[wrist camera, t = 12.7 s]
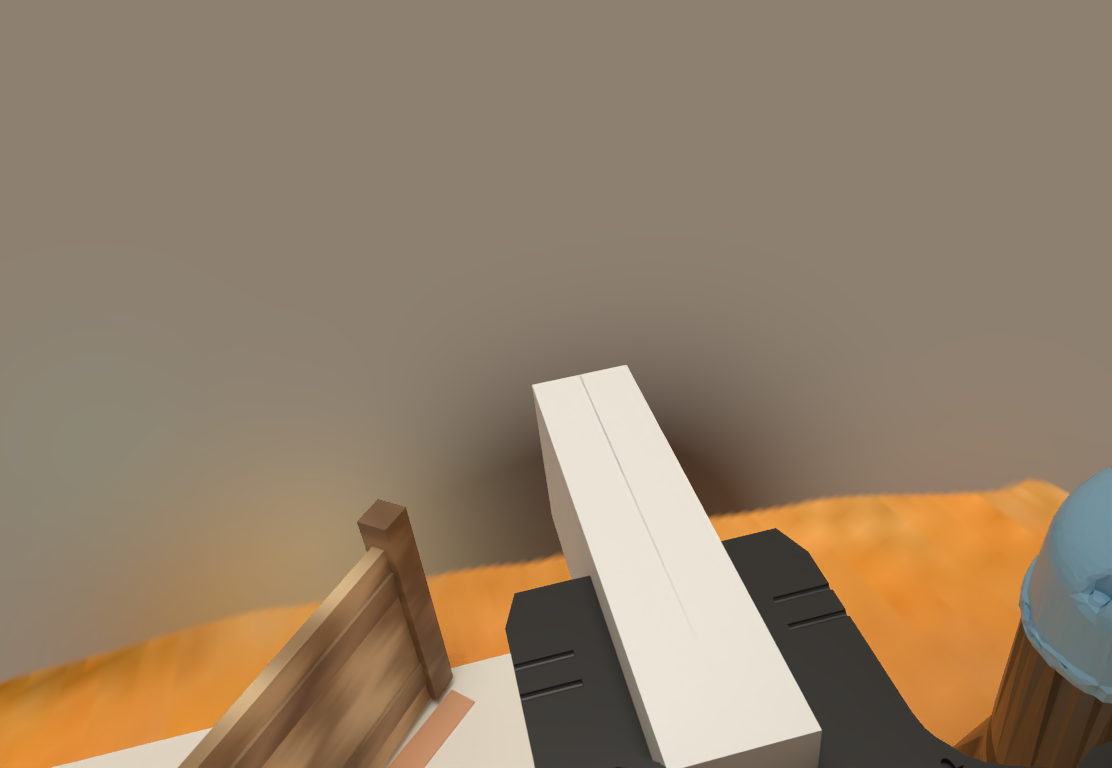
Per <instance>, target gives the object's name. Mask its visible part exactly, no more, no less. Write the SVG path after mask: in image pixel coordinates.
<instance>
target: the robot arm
mask: <svg viewBox="0 0 1112 768" xmlns="http://www.w3.org/2000/svg"><path fill="white" fill-rule="evenodd" d="M532 387H533V394H534V401H535V407H536V414H537V420H538V427H539V433H540V439H541V446H542V453H543V459H544V466H545V472H546V478H547V486H548V492H549V499H550V505H551V512H552V517H553V520H554V523H555V527H556V529H557V533H558V536H559V539H560V542H561V546H562V549H563V552H564V555H565V558H566V562H567V565H568V568H569V571H570V574H571V578H572V580H569V581H564V582H560V583H556V584H552V585H548V586H544V587H540V588H535V589H531V590H527V591H523V592H519V593H515V594H514V598H513V602H512V605H511V609H510V613H509V617H508V621H507V624H506V628H505V629H506V634H507V639H508V643H509V648H510V653H511V658H512V662H513V667H514V672H515V676H516V681H517V686H518V691H519V695H520V700H521V705H522V709H523V714H524V719H525V723H526V728H527V733H528V738H529V742H530V747H531V752H532V756H533V761H534V766H535V768H1112V467H1109V468H1107V469H1104V470H1103V471H1101V472H1099V473H1097V474H1095V475H1094V476H1092V477H1091V478H1089V479H1088V480H1086V481H1085V482H1084V483H1082V484H1081V485H1080V486H1079V487H1077V488H1076V489H1075V490H1074V491H1073V492H1072V493H1071V494H1070V495H1069V496H1068V497H1067V498H1066V500H1065V501H1064V502H1063V503H1062V505H1061V506H1060V507H1059V509H1058V511H1057V513H1056V514H1055V516H1054V517H1053V519H1052V522H1051V524H1050V526H1049V529H1048V532H1047V534H1046V537H1045V540H1044V542H1043V545H1042V548H1041V550H1040V553H1039V555H1038V556H1037V557H1036V558H1035V559H1034V560H1033V562H1032V563H1031V565H1030V567H1029V568H1028V570H1027V572H1026V575H1025V577H1024V580H1023V584H1022V588H1021V594H1020V601H1019V607H1020V609H1021V619H1020V622H1019V625H1018V629H1017V632H1016V635H1015V638H1014V642H1013V645H1012V648H1011V651H1010V655H1009V658H1008V661H1007V664H1006V668H1005V671H1004V674H1003V677H1002V681H1001V684H1000V687H999V690H998V694H997V697H996V700H995V704H994V708H993V712H992V715H991V716H990V717H988V718H987V719H986V720H985V721H984V722H982V723H981V724H980V725H979V726H978V727H976V728H975V729H974V730H973V731H972V732H970V733H969V734H968V735H967V736H966V737H964V738H963V739H962V740H961V741H960V742H958V743H957V744H956V745H955V746H954V747H951V746H950V745H948V744H946V743H945V742H943V741H941V740H940V739H938V738H936V737H935V736H934V735H933V734H931V733H930V732H929V731H928V730H927V729H925V728H924V727H923V725H922V724H921V723H920V722H919V720H918V719H917V718H916V717H915V715H914V714H913V713H912V712H911V710H910V709H909V707H908V705H907V704H906V702H905V701H904V699H903V698H902V696H901V695H900V693H899V692H898V690H897V688H896V687H895V685H894V684H893V682H892V681H891V679H890V678H889V676H888V675H887V673H886V671H885V670H884V668H883V667H882V665H881V664H880V662H879V661H878V659H877V658H876V656H875V654H874V653H873V651H872V650H871V648H870V647H869V645H868V644H867V642H866V640H865V639H864V637H863V636H862V634H861V633H860V631H859V630H858V628H857V627H856V625H855V623H854V622H853V620H852V619H851V617H850V616H847V614H846V611H845V608H844V606H843V605H842V603H841V602H840V600H839V599H838V597H837V596H836V594H835V593H834V591H833V590H830V588H829V583H828V582H827V580H826V579H825V577H824V576H823V574H822V572H821V571H820V569H819V568H818V566H817V565H816V563H815V562H814V560H813V559H812V557H811V555H810V554H809V552H808V551H806V550H805V549H804V548H802V547H801V546H799V545H798V544H797V543H795V542H794V541H793V540H791V539H790V538H788V537H787V536H786V535H784V534H783V533H782V532H780V531H779V530H778V529H776V528H775V529H771V530H766V531H762V532H758V533H754V534H750V535H746V536H741V537H737V538H733V539H729V540H725V541H720V539H719V537H718V535H717V533H716V531H715V530H714V528H713V526H712V524H711V522H710V520H709V518H708V516H707V515H706V513H705V511H704V509H703V507H702V505H701V503H700V502H699V500H698V498H697V496H696V494H695V492H694V490H693V488H692V487H691V485H690V483H689V481H688V479H687V477H686V475H685V474H684V472H683V470H682V468H681V466H680V464H679V462H678V461H677V459H676V457H675V455H674V453H673V451H672V449H671V447H670V445H669V444H668V442H667V440H666V438H665V436H664V434H663V433H662V431H661V429H660V427H659V425H658V423H657V421H656V419H655V418H654V416H653V414H652V412H651V410H650V408H649V406H648V404H647V403H646V401H645V399H644V397H643V395H642V393H641V391H640V389H639V388H638V386H637V384H636V382H635V380H634V378H633V376H632V375H631V373H630V371H629V369H628V367H627V365H624V366H619V367H614V368H610V369H605V370H600V371H596V372H591V373H586V374H582V375H578V376H572V377H568V378H563V379H558V380H554V381H549V382H544V383H540V384H535V385H532Z"/></svg>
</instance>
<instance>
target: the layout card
mask: <svg viewBox="0 0 1112 768" xmlns="http://www.w3.org/2000/svg"><path fill="white" fill-rule="evenodd" d="M451 670H452V674H453V678H452V680H451V681H450V683H449V684H448V686H447V687H446V689H445V690H444V692H443V693H442V695H441V696H440V698H439V699H438V701H436V700H434V699H431V698H430V699H429V701H428V702H427V704H426V705H425V707H424V708H423V710H422V711H421V712H420V714H419V715H418V717H417V718H416V720H415V721H414V723H413V724H412V726H411V727H410V729H409V730H408V731H407V733H406V734H405V736H404V737H403V739H402V740H401V742H400V743H399V745H398V746H397V748H396V749H395V750H394V752H393V753H392V755H391V756H390V758H389V759H388V761H387V762H386V764H385V765H384V767H383V768H535V766H534V761H533V756H532V752H531V747H530V742H529V738H528V733H527V728H526V723H525V719H524V714H523V709H522V705H521V700H520V695H519V691H518V686H517V681H516V676H515V672H514V667H513V662H512V658H511V653H510V654H506V655H502V656H498V657H494V658H490V659H486V660H482V661H478V662H474V663H470V664H466V665H462V666H458V667H454V668H451ZM211 729H212V728H209V729H205V730H201V731H197V732H193V733H189V734H185V735H181V736H177V737H173V738H169V739H165V740H161V741H157V742H153V743H149V744H145V745H141V746H137V747H133V748H129V749H125V750H121V751H117V752H113V753H109V754H105V755H101V756H97V757H93V758H89V759H85V760H81V761H77V762H73V763H69V764H65V765H61V766H57V767H53V768H178V767H179V766H180V764H181V763H182V762H183V761H184V760H185V759H186V758H187V756H188V755H189V754H190V753H191V752H192V751H193V750H194V748H195V747H196V746H197V745H198V744H199V743H200V742H201V741H202V739H203V738H204V737H205V736H206V735H207V734H208V733H209V731H210V730H211Z"/></svg>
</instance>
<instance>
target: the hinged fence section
mask: <svg viewBox="0 0 1112 768" xmlns="http://www.w3.org/2000/svg"><path fill="white" fill-rule="evenodd" d="M357 523H358V526H359V529H360V532H361V535H362V538H363V541H364V544H365V547H366V550H367V553H366V554H365V555H364V556H363V558H362V559H361V560H360V561H359V562H358V563H357V564H356V565H355V566H354V568H353V569H352V570H351V571H350V572H349V573H348V575H347V576H346V577H345V578H344V579H343V580H342V581H341V582H340V584H339V585H338V586H337V587H336V588H335V589H334V590H333V592H332V593H331V594H330V595H329V596H328V597H327V598H326V599H325V601H324V602H323V603H322V604H321V605H320V606H319V607H318V609H317V610H316V611H315V612H314V613H313V614H312V615H311V617H310V618H309V619H308V620H307V621H306V622H305V623H304V624H303V626H302V627H301V628H300V629H299V630H298V631H297V632H296V634H295V635H294V636H293V637H292V638H291V639H290V640H289V642H288V643H287V644H286V645H285V646H284V647H283V648H282V650H281V651H280V652H279V653H278V654H277V655H276V656H275V657H274V659H273V660H272V661H271V662H270V663H269V664H268V665H267V667H266V668H265V669H264V670H263V671H262V672H261V673H260V675H259V676H258V677H257V678H256V679H255V680H254V681H253V683H252V684H251V685H250V686H249V687H248V688H247V689H246V690H245V692H244V693H243V694H242V695H241V696H240V697H239V698H238V700H237V701H236V702H235V703H234V704H233V705H232V706H231V708H230V709H229V710H228V711H227V712H226V713H225V714H224V716H223V717H222V718H221V719H220V720H219V721H218V722H217V723H216V725H215V726H214V727H213V728H212V729H211V730H210V731H209V733H208V734H207V735H206V736H205V737H204V738H203V739H202V741H201V742H200V743H199V744H198V745H197V746H196V747H195V748H194V750H193V751H192V752H191V753H190V754H189V755H188V756H187V758H186V759H185V760H184V761H183V762H182V763H181V764H180V766H179V767H178V768H383V767H384V765H385V764H386V762H387V761H388V759H389V758H390V756H391V755H392V753H393V752H394V750H395V749H396V748H397V746H398V745H399V743H400V742H401V740H402V739H403V737H404V736H405V734H406V733H407V731H408V730H409V729H410V727H411V726H412V724H413V723H414V721H415V720H416V718H417V717H418V715H419V714H420V712H421V711H422V710H423V708H424V707H425V705H426V704H427V702H428V701H429V699H430V698H431V699H434V700H436V701H438V699H439V698H440V696H441V695H442V693H443V692H444V690H445V689H446V687H447V686H448V684H449V683H450V681H451V680H452V678H453V674H452V670H451V667H450V663H449V660H448V656H447V653H446V649H445V646H444V642H443V638H442V635H441V631H440V628H439V624H438V621H437V617H436V613H435V610H434V606H433V603H432V599H431V596H430V592H429V588H428V585H427V581H426V578H425V574H424V571H423V568H422V564H421V560H420V556H419V553H418V549H417V546H416V542H415V539H414V535H413V532H412V528H411V524H410V521H409V517H408V514H407V510H406V507H403V506H400V505H396V504H393V503H389V502H386V501H382V500H379V499H378V500H377V501H376V502H375V503H374V504H373V505H372V506H371V507H370V508H369V509H368V511H367V512H366V513H365V514H364V515H363V516H362V517H361V518H360V519H359V520H358V521H357Z"/></svg>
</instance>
